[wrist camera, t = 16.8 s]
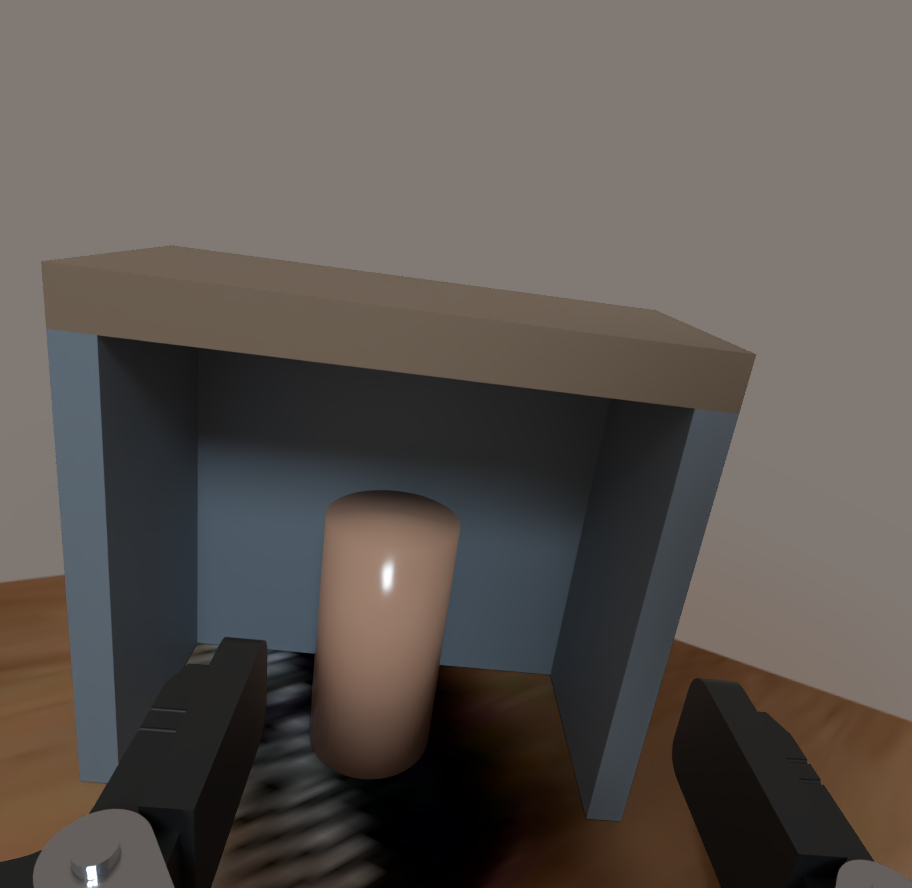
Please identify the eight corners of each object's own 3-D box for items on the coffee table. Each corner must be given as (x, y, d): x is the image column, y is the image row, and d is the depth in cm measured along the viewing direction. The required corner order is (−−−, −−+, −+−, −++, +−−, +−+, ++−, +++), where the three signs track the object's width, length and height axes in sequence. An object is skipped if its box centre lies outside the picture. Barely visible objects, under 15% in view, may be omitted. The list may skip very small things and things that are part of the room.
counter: (573, 665, 37) (655, 310, 30) (620, 821, 27) (756, 354, 21) (175, 628, 35) (171, 245, 29) (80, 780, 26) (41, 261, 19)
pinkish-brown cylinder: (429, 694, 33) (458, 497, 29) (427, 784, 28) (463, 558, 24) (320, 684, 33) (336, 484, 29) (298, 773, 27) (314, 542, 24)
